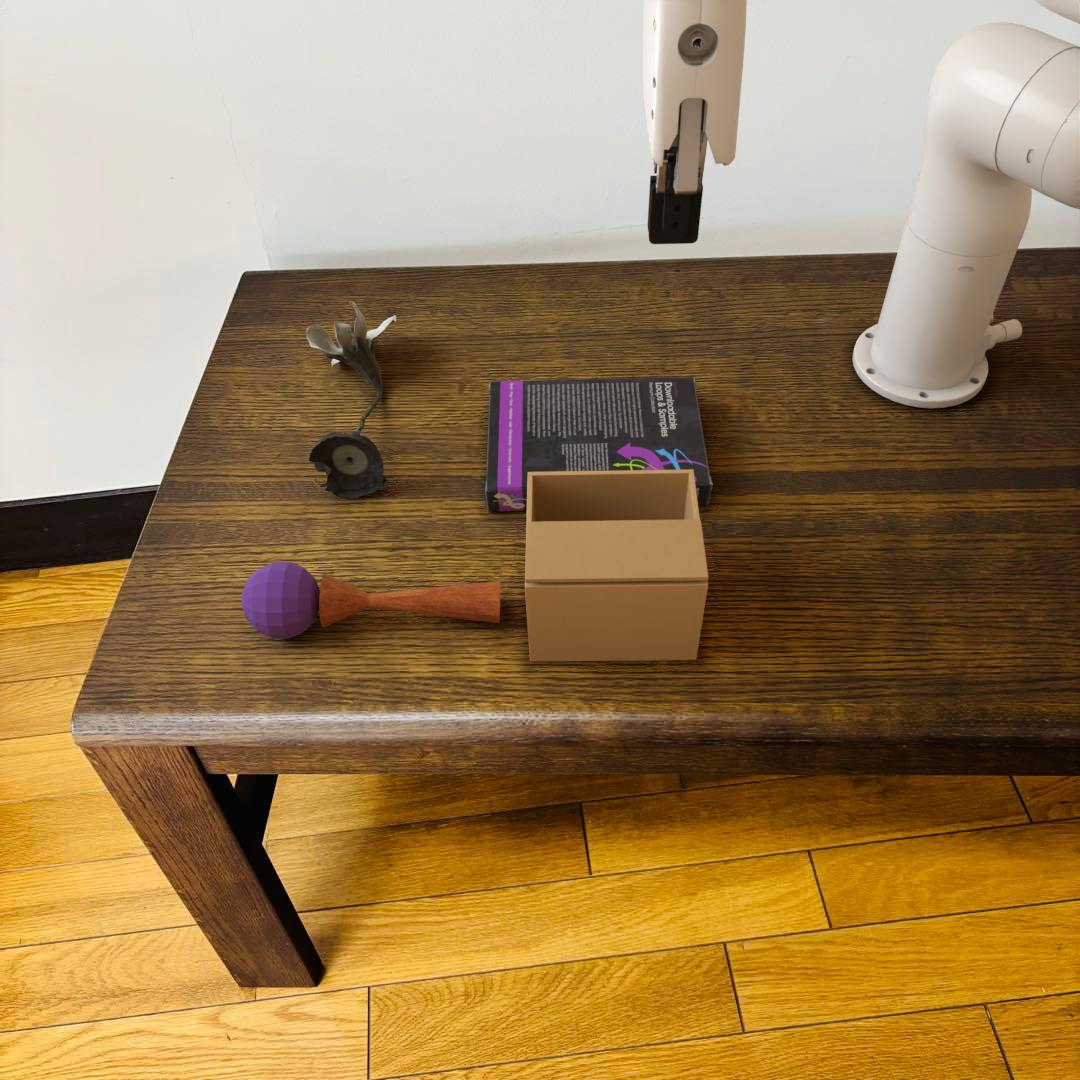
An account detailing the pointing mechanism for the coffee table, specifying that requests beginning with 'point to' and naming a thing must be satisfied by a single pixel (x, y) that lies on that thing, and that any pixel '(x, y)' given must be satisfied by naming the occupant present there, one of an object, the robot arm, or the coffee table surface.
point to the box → (591, 431)
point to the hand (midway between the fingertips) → (672, 236)
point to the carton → (613, 607)
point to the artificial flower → (353, 455)
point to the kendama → (350, 600)
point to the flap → (615, 551)
